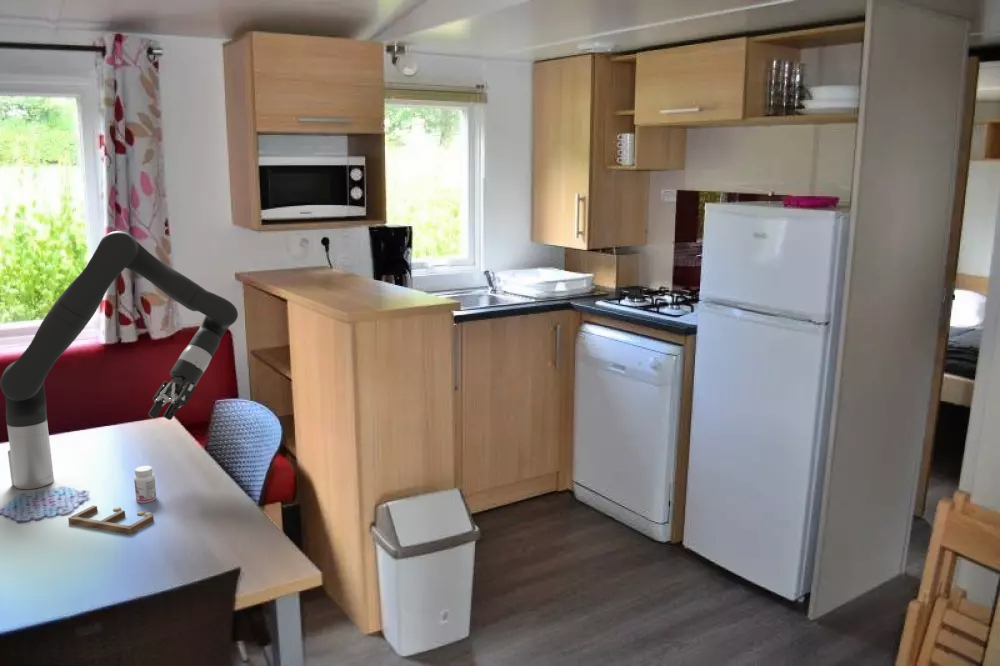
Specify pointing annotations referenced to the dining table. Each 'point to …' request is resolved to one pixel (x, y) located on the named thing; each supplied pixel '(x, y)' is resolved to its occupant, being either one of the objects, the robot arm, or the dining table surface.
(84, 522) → the slot rack
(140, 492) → the pill bottle
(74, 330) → the robot arm
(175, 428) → the dining table surface
